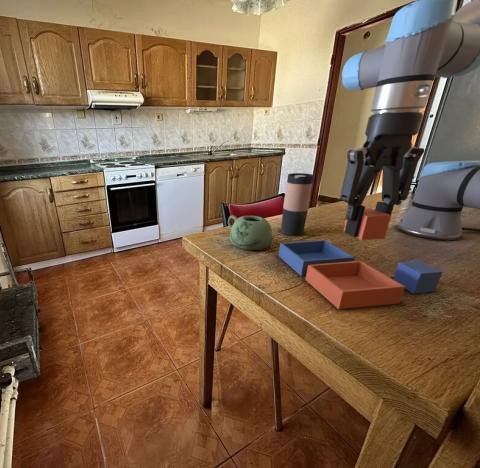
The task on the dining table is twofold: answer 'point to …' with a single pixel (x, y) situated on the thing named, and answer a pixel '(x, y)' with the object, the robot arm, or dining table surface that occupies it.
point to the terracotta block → (373, 225)
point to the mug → (250, 232)
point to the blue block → (417, 276)
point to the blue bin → (311, 254)
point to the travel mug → (296, 203)
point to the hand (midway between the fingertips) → (363, 233)
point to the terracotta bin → (354, 284)
